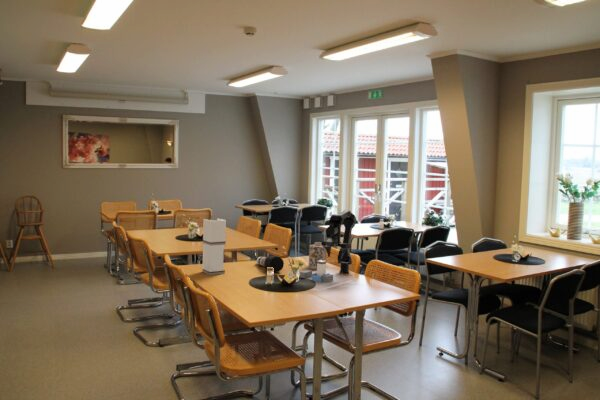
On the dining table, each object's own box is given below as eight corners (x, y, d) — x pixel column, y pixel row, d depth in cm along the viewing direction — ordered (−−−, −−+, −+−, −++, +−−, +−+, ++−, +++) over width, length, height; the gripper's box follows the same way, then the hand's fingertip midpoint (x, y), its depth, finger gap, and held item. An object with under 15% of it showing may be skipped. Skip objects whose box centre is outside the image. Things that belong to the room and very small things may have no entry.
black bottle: (260, 269, 372) (266, 256, 374) (280, 274, 342) (286, 260, 344) (248, 263, 368) (254, 251, 370) (267, 268, 338) (273, 254, 340)
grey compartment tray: (298, 279, 324) (299, 271, 324) (307, 276, 332) (307, 269, 331) (324, 284, 312) (325, 276, 312) (333, 282, 320) (333, 274, 319)
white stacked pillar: (224, 273, 334) (225, 220, 331) (209, 275, 328) (210, 220, 325) (217, 270, 343) (218, 218, 341) (202, 271, 337) (203, 218, 335)
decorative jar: (325, 269, 357) (326, 244, 356) (308, 268, 358) (309, 243, 356) (324, 266, 369) (325, 241, 368) (308, 265, 369) (309, 240, 368)
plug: (316, 279, 320) (316, 260, 319) (320, 278, 323) (320, 259, 322) (321, 280, 317) (322, 261, 317) (325, 279, 321) (326, 260, 320)
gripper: (317, 233, 329) (316, 257, 330) (341, 236, 318) (340, 261, 319) (326, 232, 338) (325, 255, 339) (350, 235, 327) (349, 259, 328)
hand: (334, 257), depth 331 cm, fingers open, 9 cm apart
